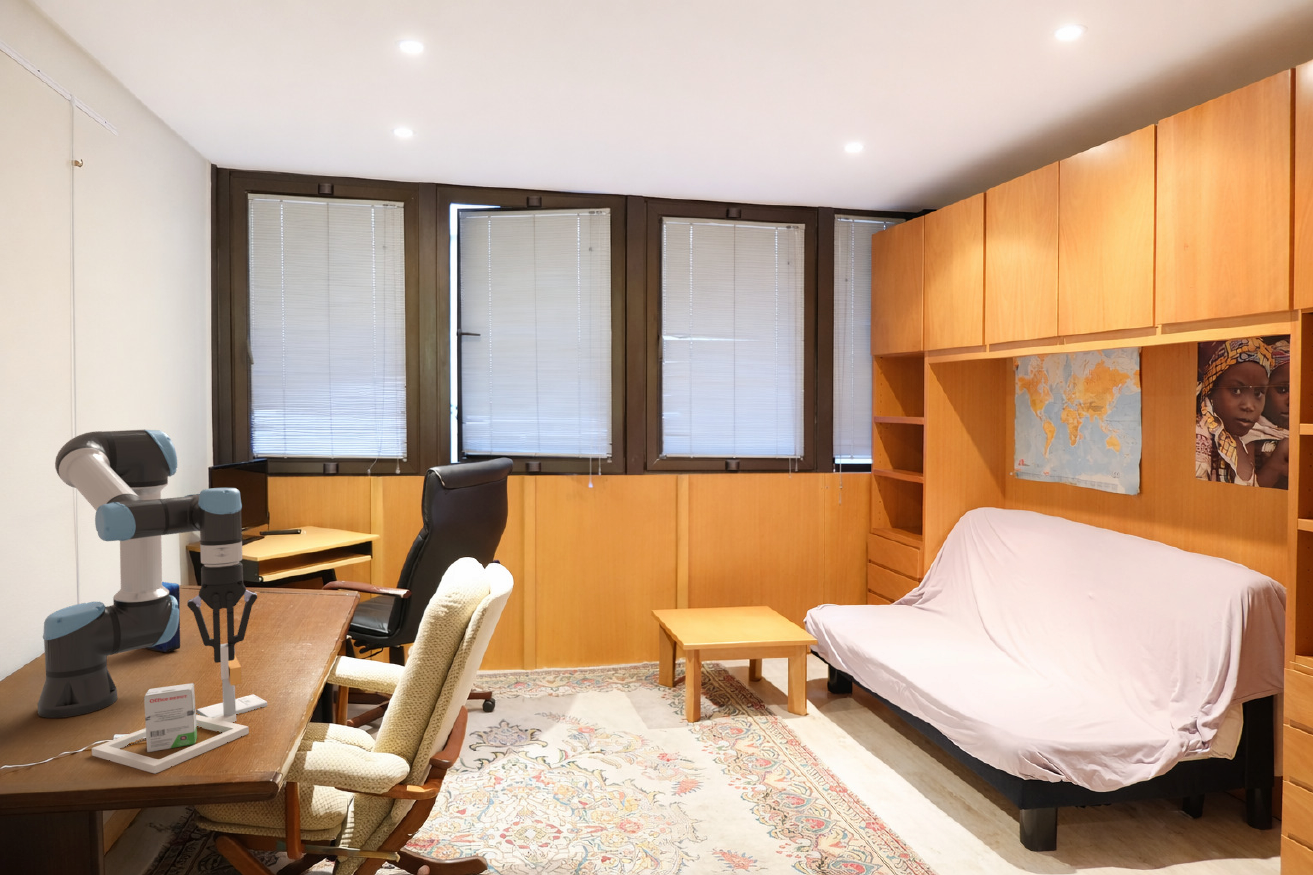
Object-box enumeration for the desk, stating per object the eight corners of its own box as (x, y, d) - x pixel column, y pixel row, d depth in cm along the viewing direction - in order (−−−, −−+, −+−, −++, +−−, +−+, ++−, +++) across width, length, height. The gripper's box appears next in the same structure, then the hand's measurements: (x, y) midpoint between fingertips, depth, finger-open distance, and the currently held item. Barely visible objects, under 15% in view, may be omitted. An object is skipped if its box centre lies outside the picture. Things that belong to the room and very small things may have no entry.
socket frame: (92, 755, 159) (89, 689, 158) (205, 712, 181) (202, 654, 180) (155, 773, 150) (152, 703, 150) (265, 725, 172) (263, 664, 172)
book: (136, 648, 230) (133, 580, 230) (154, 643, 235) (152, 577, 234) (165, 655, 224) (162, 585, 223) (184, 650, 228) (181, 581, 228)
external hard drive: (196, 715, 180) (253, 699, 189) (209, 724, 175) (267, 707, 184) (196, 708, 180) (252, 693, 189) (209, 717, 175) (267, 700, 184)
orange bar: (227, 686, 162) (227, 668, 161) (219, 665, 175) (218, 648, 175) (244, 682, 163) (243, 665, 163) (234, 662, 177) (233, 646, 177)
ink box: (198, 735, 167) (195, 681, 167) (195, 744, 163) (192, 688, 162) (150, 743, 164) (148, 687, 164) (146, 752, 159) (143, 695, 159)
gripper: (184, 569, 156) (188, 687, 157) (258, 563, 162) (260, 676, 163) (185, 563, 162) (188, 676, 163) (256, 557, 169) (258, 666, 169)
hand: (224, 676), depth 163 cm, fingers closed
